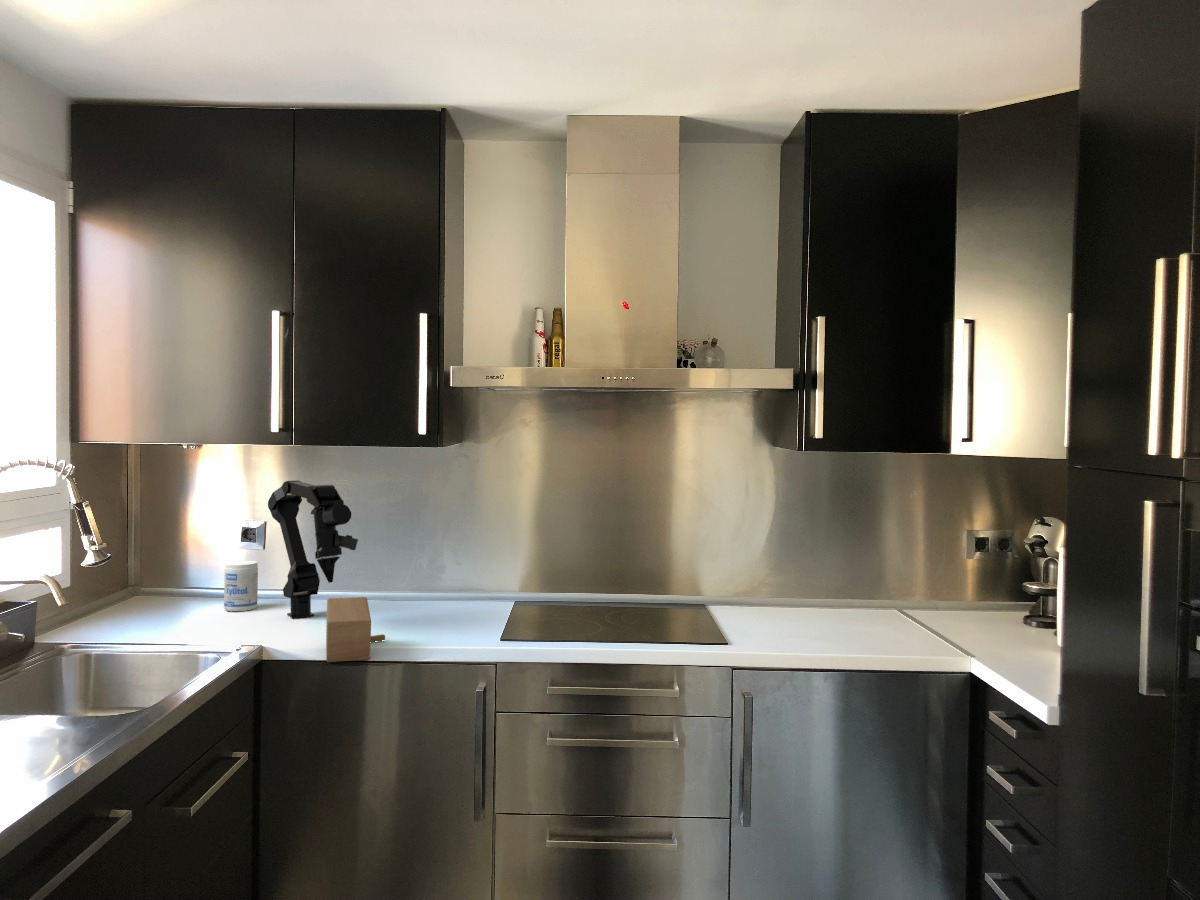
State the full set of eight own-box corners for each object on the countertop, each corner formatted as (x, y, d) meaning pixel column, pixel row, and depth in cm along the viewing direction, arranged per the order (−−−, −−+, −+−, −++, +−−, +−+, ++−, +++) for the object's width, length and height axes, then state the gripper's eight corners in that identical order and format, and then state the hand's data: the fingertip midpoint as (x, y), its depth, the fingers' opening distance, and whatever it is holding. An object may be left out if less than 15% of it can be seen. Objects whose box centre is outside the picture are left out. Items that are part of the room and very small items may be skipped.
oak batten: (329, 647, 199) (329, 641, 199) (383, 639, 207) (383, 634, 207) (331, 648, 198) (331, 643, 198) (385, 641, 206) (385, 635, 206)
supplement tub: (222, 613, 237) (222, 565, 237) (225, 607, 246) (225, 560, 246) (257, 611, 241) (257, 563, 241) (258, 604, 250) (258, 559, 249)
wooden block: (365, 633, 207) (369, 660, 188) (326, 635, 203) (326, 663, 185) (367, 596, 206) (371, 620, 187) (327, 597, 203) (327, 622, 184)
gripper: (357, 522, 218) (363, 578, 217) (351, 526, 235) (356, 578, 234) (315, 527, 214) (321, 584, 212) (312, 531, 231) (317, 583, 229)
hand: (330, 582), depth 222 cm, fingers closed
